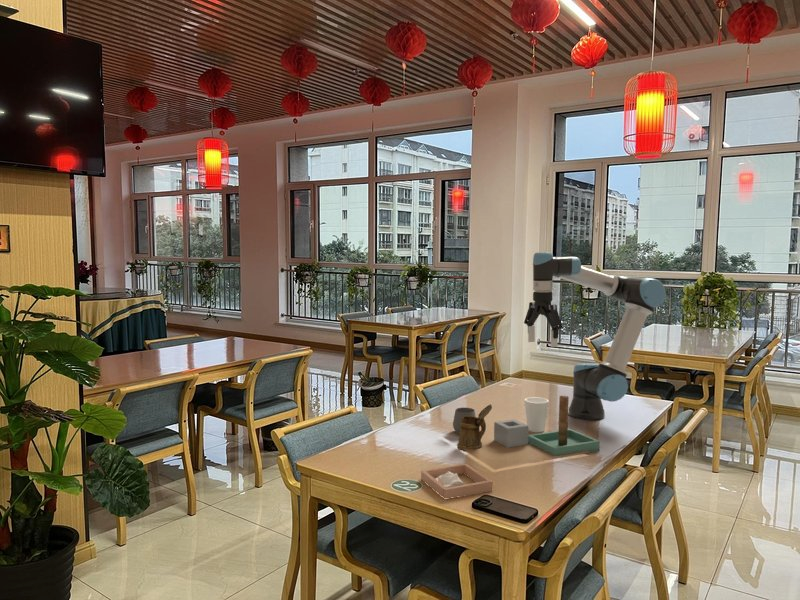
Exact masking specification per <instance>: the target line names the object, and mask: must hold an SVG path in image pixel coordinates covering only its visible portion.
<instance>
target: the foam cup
mask: <svg viewBox="0 0 800 600" xmlns="http://www.w3.org/2000/svg"><path fill="white" fill-rule="evenodd" d="M549 402H550V401H549V399H548V398H544V397H538V396H531V397H526V398H524V407H525V416H526V425H528V432H533V433H544V431H545V430H546V429H545V428H546V424H547V417H548V411H549V406H550V403H549Z"/></svg>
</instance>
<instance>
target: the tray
mask: <svg viewBox="0 0 800 600" xmlns="http://www.w3.org/2000/svg"><path fill="white" fill-rule="evenodd" d="M558 434H559V430H553V431H547V432H538V433H533V434H528V444H529V443H530V444H531V445H532V446H535V447H536V448H539V449H540V450H543V451H545V452H546V453H549V454H551V455H553V456H561V455H565V456H563V457H564V458H565V457H566V454H572V453H577V452H583V451H587V452H589V453H593V452H592V451H594V452H599V451H600V447H601V443H600V442H601V441H600V440H598V439H596V438H593V437H590V436H589V435H586V434H583V433H581V432H580V431H577V430H574V429H572V428H568V435H567V445H565V446H560V445H558Z"/></svg>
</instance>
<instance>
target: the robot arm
mask: <svg viewBox="0 0 800 600" xmlns="http://www.w3.org/2000/svg"><path fill="white" fill-rule="evenodd" d="M532 276H533V277H532V280H533V281H532V284H533V286H532V287H533V288H532V290H533V292H532V300H533V301H532V302H531V301H530V302H529V303H528V309H527V312H526V315H525V318H524V322H523V324H525V325H526V326H527V336H528V338H527V341H528V343H534V342H535V341H536V336H535V335H536V332H535V331H536V330H535V328H536V326H535V323H536V321H537V319H538V318H539V316H540V315H542V316H544V317H545V318H546V320H547V321H548V324H549V326H550V327H551V330H550V347H551V348H554V347H558V339H559V330H563V328H564V327H563V324H562V321H561V318H560V314H559V311H558V305H557V304H551V303H552V301H553V290H554V288H553V285H554V283H553V280H554V279H553V278H558V279H562V280H565V281H568V282H571V283H574V284H578V285H580V286H584V287H587V288H589V289H593V290H596V291H599V292H602V293H603V294H604V295H605V296H608V297H610V298H614V299H616V300H619V301H621V302H623V303H624V306H625V312H624V313H623V315H622V318H621V321H620V323H619V326H618V328H617V331H616V333H615V335H614V338H613V340H612V343H611V345H610V346H609V347H610V348H609V350H608V352H607V353H606V354H607V355H606V357H605V360H603V361H602V362H599V363H595V362H585V363H582V362H581V363H576V364H575V365H574V367H573V382H572V383H573V385H572V386H573V389H572V393H573V394H572V398H571V399H572V400H571V402H570V405H569V406H568V416H571V417H573V418H576V419H579V420H580V419H581V420H589V421H591V420H593V421H595V420H601V419H604V418H605V409H604V406H603V402H602V400H603V401H607V402H617V401H620V400H621V399H623V398H624V396H625V395H626V394H627V392H628V389H629V385H628V380H627V379H626V378H627V377H628V373H627V370H626V368H627V366H628V363H629V361H630V359H631V356H632V353H633V351H634V349H635V346H636V344H637V341H638V339H639V336H640V334H641V331H642V328H643V327H644V325H645V322H646V319H647V317H648V316H649V315H650V316H651V315H652V314H653V313H654V311H655V309H656V308H658V307H660V306H662V305H663V303H664V302H665V299H666V296H667V294H666V289H665V286H664V284H663V282H662V281H660V280H659V279H656V278H652V277H635V276H622V275H617V274H605V273H602V272H600V271H597V270H595V269H590V268H588V267H586V266H585V267H584V266H582V263H581V259H580V258H579V257H577V256H554V254H553V253H552V252H544V251H543V252H534V253H533V256H532Z"/></svg>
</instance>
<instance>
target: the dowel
mask: <svg viewBox="0 0 800 600" xmlns="http://www.w3.org/2000/svg"><path fill="white" fill-rule="evenodd" d="M558 405H559V406H558V431H559V434H558V445H560V446H565V445H567V435H568V429H569V428H568V426H569V396H567V395H559V404H558Z"/></svg>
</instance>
